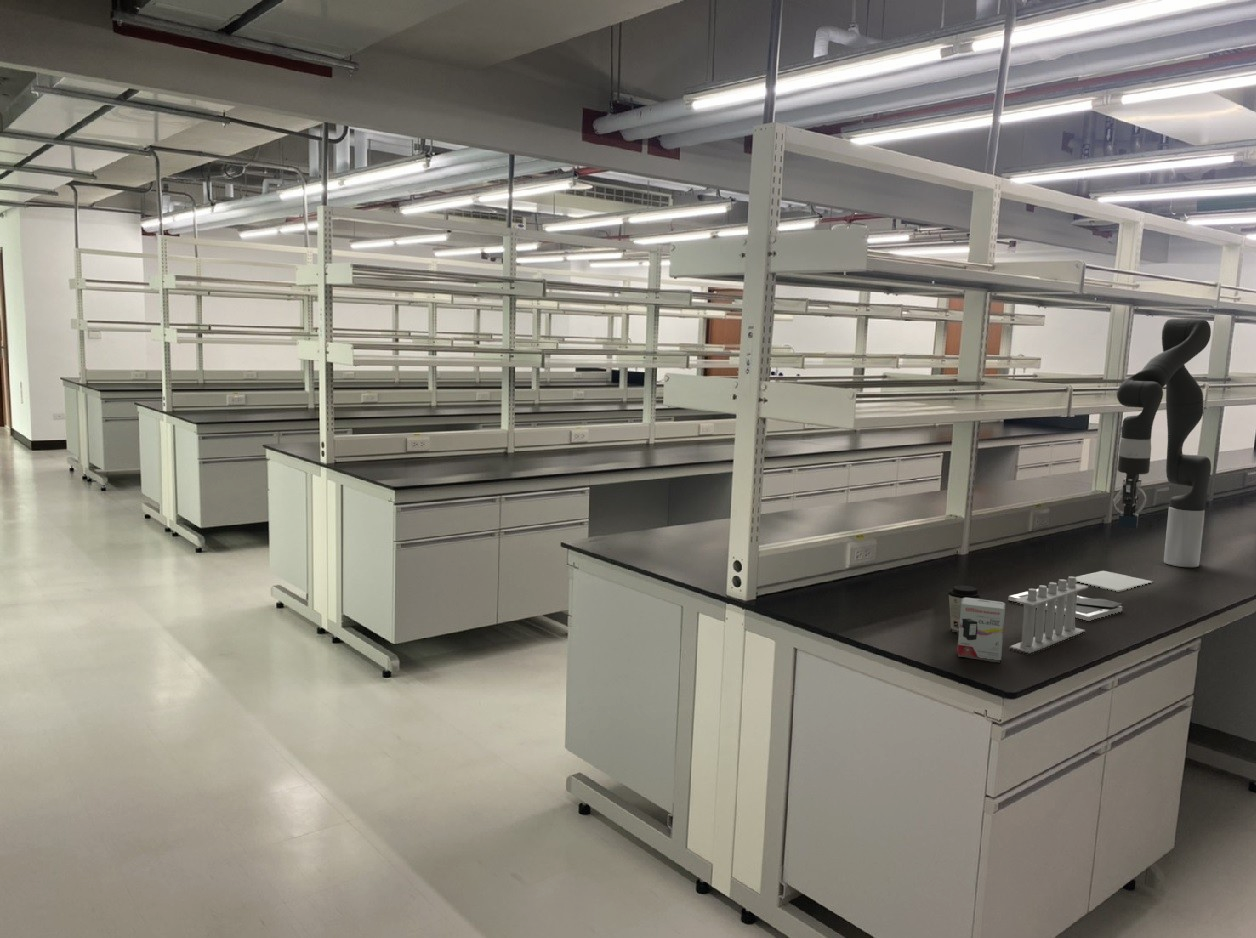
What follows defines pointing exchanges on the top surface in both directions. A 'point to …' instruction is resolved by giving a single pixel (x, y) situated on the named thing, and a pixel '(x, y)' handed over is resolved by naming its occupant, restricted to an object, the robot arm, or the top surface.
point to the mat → (1111, 581)
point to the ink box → (981, 628)
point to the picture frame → (1086, 606)
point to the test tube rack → (1049, 614)
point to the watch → (1127, 520)
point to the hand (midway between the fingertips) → (1128, 517)
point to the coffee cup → (959, 602)
